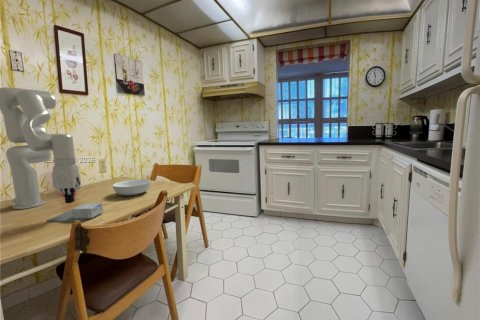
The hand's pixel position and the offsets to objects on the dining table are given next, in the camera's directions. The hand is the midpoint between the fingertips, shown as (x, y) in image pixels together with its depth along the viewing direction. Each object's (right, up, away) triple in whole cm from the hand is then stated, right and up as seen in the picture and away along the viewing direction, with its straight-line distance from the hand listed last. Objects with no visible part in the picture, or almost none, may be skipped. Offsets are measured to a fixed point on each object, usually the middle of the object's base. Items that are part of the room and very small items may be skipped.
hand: (70, 202), depth 106 cm
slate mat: (+3, -6, 0) cm, 7 cm away
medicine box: (+4, -4, -1) cm, 6 cm away
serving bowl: (+12, -2, +36) cm, 38 cm away
